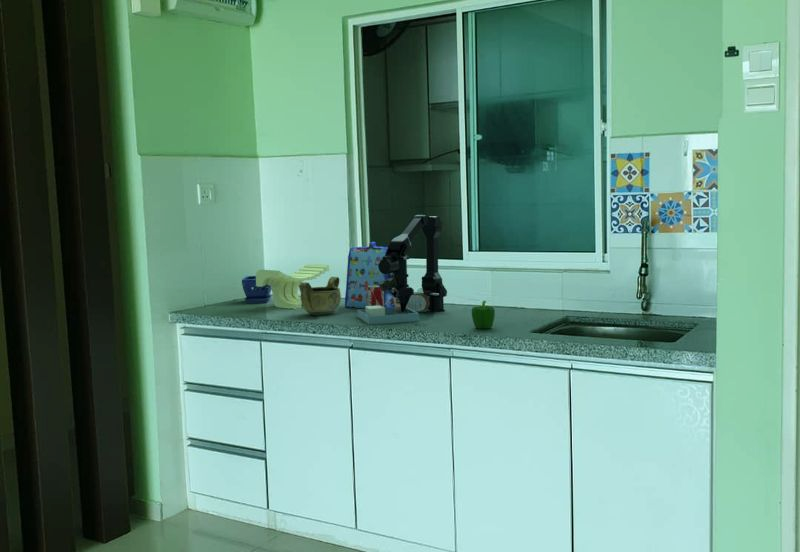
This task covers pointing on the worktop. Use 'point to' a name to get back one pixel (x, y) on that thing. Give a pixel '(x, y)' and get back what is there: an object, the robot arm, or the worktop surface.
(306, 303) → the ceramic bowl
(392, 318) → the teal tray
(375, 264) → the lunch bag
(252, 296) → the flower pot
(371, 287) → the soda can
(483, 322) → the bell pepper
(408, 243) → the robot arm
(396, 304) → the food can
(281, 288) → the slatted curved stool
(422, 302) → the tin
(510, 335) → the worktop surface
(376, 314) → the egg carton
